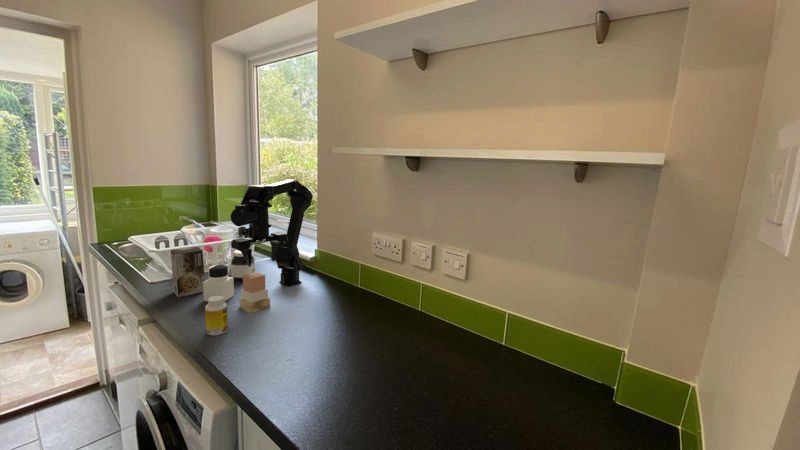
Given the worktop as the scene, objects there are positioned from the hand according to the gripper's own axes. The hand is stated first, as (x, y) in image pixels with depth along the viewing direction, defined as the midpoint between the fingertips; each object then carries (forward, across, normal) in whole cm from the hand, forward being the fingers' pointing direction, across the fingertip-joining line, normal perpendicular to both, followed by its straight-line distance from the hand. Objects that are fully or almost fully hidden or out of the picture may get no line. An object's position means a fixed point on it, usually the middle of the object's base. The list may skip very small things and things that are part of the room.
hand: (261, 263), depth 125 cm
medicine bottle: (+13, +12, -9) cm, 19 cm away
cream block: (+9, +7, +6) cm, 13 cm away
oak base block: (+13, +7, +6) cm, 16 cm away
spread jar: (+13, -5, -26) cm, 29 cm away
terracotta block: (+6, +7, +6) cm, 11 cm away
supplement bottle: (+12, +23, +15) cm, 30 cm away
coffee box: (+13, +16, -22) cm, 30 cm away
